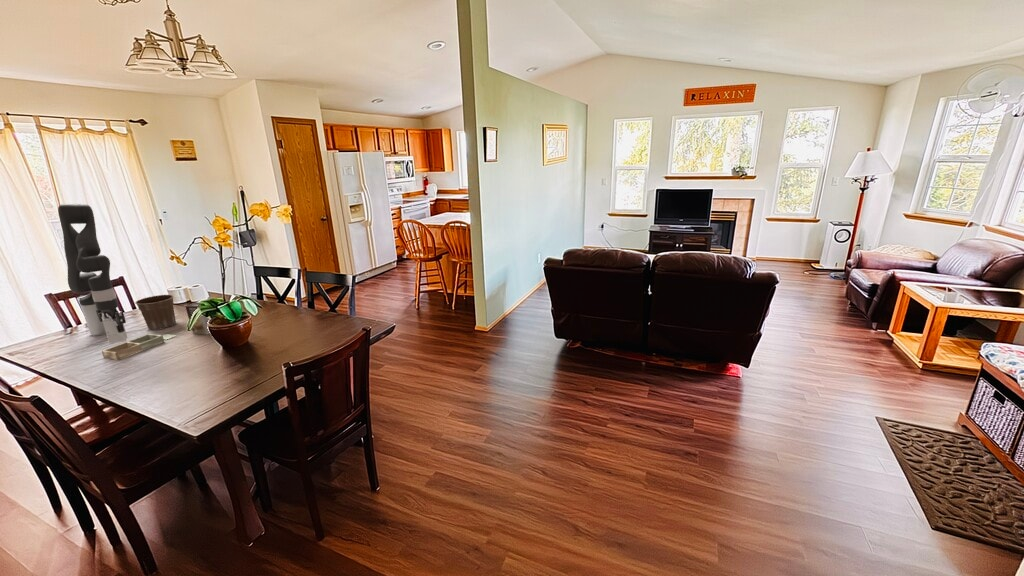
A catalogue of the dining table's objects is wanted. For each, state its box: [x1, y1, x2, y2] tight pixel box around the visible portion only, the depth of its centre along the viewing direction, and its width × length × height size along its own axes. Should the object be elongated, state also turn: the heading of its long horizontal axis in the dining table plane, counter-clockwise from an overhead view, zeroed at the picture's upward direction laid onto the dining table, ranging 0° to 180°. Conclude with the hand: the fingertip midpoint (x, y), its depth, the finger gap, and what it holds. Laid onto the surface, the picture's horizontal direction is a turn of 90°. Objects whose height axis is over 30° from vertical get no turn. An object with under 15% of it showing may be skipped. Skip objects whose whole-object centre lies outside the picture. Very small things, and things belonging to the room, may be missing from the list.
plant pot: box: [134, 294, 177, 331], centre depth 223 cm, size 16×16×16 cm
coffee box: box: [185, 301, 210, 335], centre depth 215 cm, size 9×6×16 cm
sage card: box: [162, 334, 177, 341], centre depth 211 cm, size 7×5×1 cm
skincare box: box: [102, 317, 128, 344], centre depth 189 cm, size 6×4×12 cm
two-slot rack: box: [101, 333, 165, 361], centre depth 197 cm, size 10×20×4 cm, turn 165°
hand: (115, 331), depth 189 cm, fingers closed on skincare box, 7 cm apart
